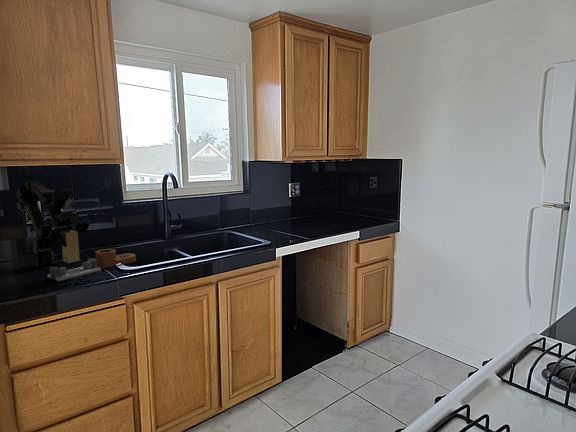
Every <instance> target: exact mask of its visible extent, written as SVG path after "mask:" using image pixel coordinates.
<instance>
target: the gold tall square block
mask: <svg viewBox="0 0 576 432" xmlns="http://www.w3.org/2000/svg"><path fill="white" fill-rule="evenodd" d="M60 233H61V236H62V238H63V239H64V241H65V244H66V247H64V246H62V245H61V248H62V249H61V250H62V251H61V252H62V261H63V262H65V263H67V264H69V263H75V262H80V259H81V258H80V247H79V246H80V245H79V244H80V243H79V244H78V231H75V230H68V231H61V232H60Z"/></svg>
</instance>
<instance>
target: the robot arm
mask: <svg viewBox="0 0 576 432" xmlns="http://www.w3.org/2000/svg"><path fill="white" fill-rule="evenodd" d="M16 198H17V199H18V201H19V203H20V204H21V205H22V206H23V207H24V208H26V210H27V212H28V216H29V218H30V220H31V223H32V226H33V228H34V229H33V230H34V231H35V237H34V239H33V241H34V242H33V244H32V252H33V254H36V255H37V260H36V261H37V264H35V265H34V267H35V266H36V267H51V266H52V265H55V264H57V263H58V261H55V257H54V251H55V252H56V251H58V245H61V247H62V246H64V247H66V244H65V241H64V239H63V238H62V236H61V231H68V230H75V231H78V244H80V243H79V242H80V241H79V239H80V237H79V236H80V234H82V233H84V234H85V233H86V232H87V231H88V229H89V227H90V223H89V221H88V220H85V219H84V220H79V221H77V222H76V224H73V222H74V221H73V220H75V219H77V218H78V217H79V213H78V211H77V209H71V210H69V211H65V210H64V209H65V208H66V207H67V205H68V201H69V200H70V194H69V193H68V192H67V191H65V190H62V188H55V190H54V189H49V188H47V187H45V186H44V185H42V184H41V183H40V181H37V180H36V181H27V182H25V184H24V185H22V186H19V188H18V189H17V191H16ZM39 203H40V204H41V205H42V206H47V207H46V210H47V211H46V214H47V215H49V218H50V219H51V224H46V221H45V219H44V216H43V214H42V211H41V208H40V205H39ZM52 225H53V226H52Z"/></svg>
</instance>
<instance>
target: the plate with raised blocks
mask: <svg viewBox="0 0 576 432" xmlns="http://www.w3.org/2000/svg"><path fill="white" fill-rule="evenodd" d="M101 271H102V268H99V267H98V260H96V258H88V259H87V261H84V262H82V263H81V266H80V267H76V268H72V269H67V267H66V266H62V267H57V266H52V267H51V266H50V267H49V273H48V274H47V278H48V279H51V280H55V281H57V282H61V281H65V280H69V279H72V278H73V279H74V278H77V277H80V276H85V275H88V274H92V273H97V272H101Z"/></svg>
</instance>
